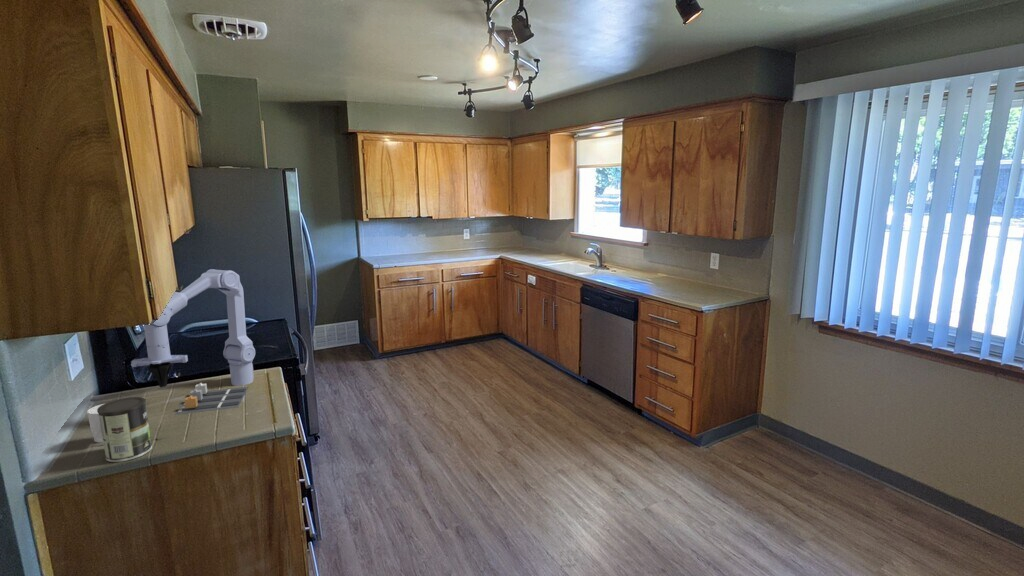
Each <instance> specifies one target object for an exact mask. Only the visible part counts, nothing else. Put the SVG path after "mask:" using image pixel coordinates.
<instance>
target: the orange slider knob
mask: <svg viewBox="0 0 1024 576" xmlns="http://www.w3.org/2000/svg"><path fill="white" fill-rule="evenodd" d="M189 396H190V395H189ZM189 396H188V397H185V399H184V402H185V408H195V407H197V406H198V401H197V396H195V397H192V396H190V397H189Z"/></svg>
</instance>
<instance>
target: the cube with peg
mask: <svg viewBox="0 0 1024 576" xmlns="http://www.w3.org/2000/svg"><path fill="white" fill-rule="evenodd" d="M189 396H192V397H195V396H197V401H199V400H202V399H203V395H202V390H197V389H194V390H191V391H190V392H189Z"/></svg>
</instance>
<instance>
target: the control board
mask: <svg viewBox="0 0 1024 576" xmlns="http://www.w3.org/2000/svg"><path fill="white" fill-rule="evenodd" d="M248 389H249V386H243V387H242V386H241V387H233V388H225V389H215V390H207V393H206V394H202V395H203V399H202V400H199V401H198V406H197V407H195V408H185V401H184V402H183V403H182V404H181V406H179V409H177V410H176V412H175V414H174V416H176V415H184V414H193V413H194V414H195V413H203V412H211V411H217V410H218V411H220V410H229V409H235V408H236V409H237V408H239V406H240V405H241V403H242V401H243V399H244V398H245V395H246V393H247V390H248ZM188 397H190V395H189V396H188Z"/></svg>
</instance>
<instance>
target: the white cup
mask: <svg viewBox="0 0 1024 576" xmlns="http://www.w3.org/2000/svg"><path fill="white" fill-rule="evenodd" d="M104 404H105V403H101V404H98V405H95V406H93V407H91V408H89V409H88V410H86V414H87V418H88V423H89V426H90V432H91V434H92V437H93V440H94V442H95V443H98V444H99V443H103V437H102V431H101V425H100V419H99V413H98V412H97V409H98V408H99V407H100V406H102V405H104Z"/></svg>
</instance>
